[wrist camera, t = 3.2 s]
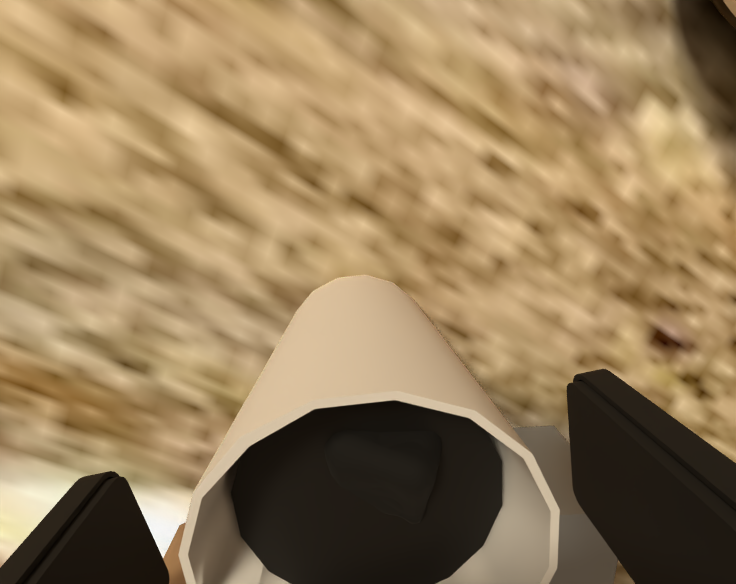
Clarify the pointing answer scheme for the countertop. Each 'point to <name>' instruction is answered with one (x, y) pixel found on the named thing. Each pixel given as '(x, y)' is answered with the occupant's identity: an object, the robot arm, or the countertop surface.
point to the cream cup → (369, 462)
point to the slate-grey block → (569, 513)
